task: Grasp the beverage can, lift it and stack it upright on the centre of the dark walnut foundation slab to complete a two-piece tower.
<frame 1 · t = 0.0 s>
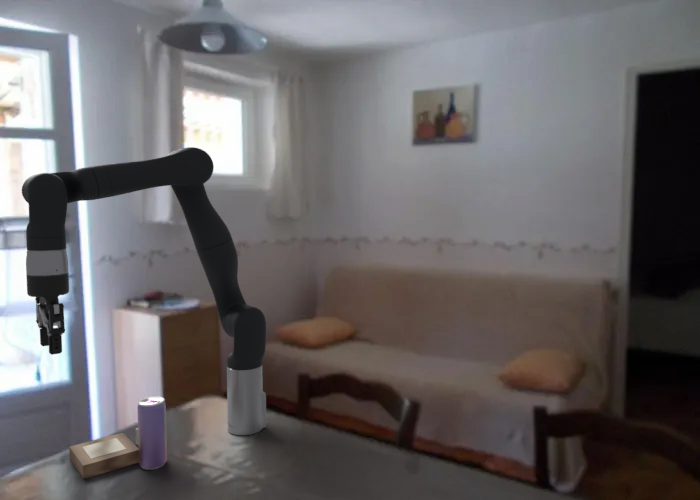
hand: (51, 349, 110), 29 cm above the table, fingers open, 8 cm apart
walnut slab: (104, 460, 123), on the table
beverage can: (153, 465, 122), on the table
sage cube: (147, 443, 133), on the table
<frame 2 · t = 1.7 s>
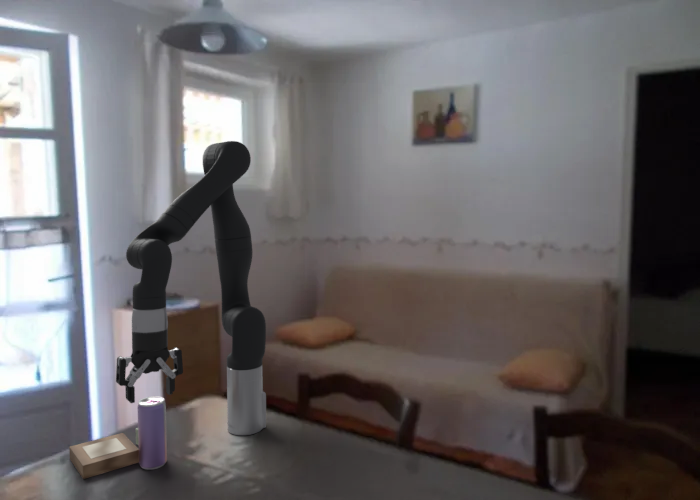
hand: (150, 397, 120), 16 cm above the table, fingers open, 8 cm apart
nothing on the table moved.
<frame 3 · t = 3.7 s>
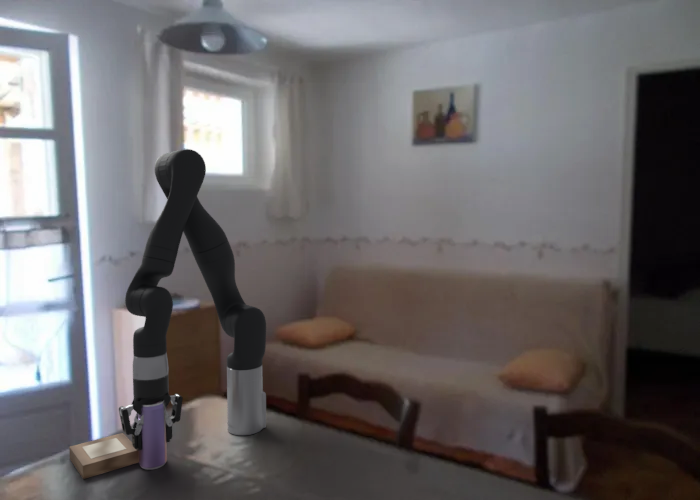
hand: (152, 445, 121), 5 cm above the table, fingers closed on beverage can, 6 cm apart
beverage can: (153, 465, 122), on the table, touching gripper
everything else where it was.
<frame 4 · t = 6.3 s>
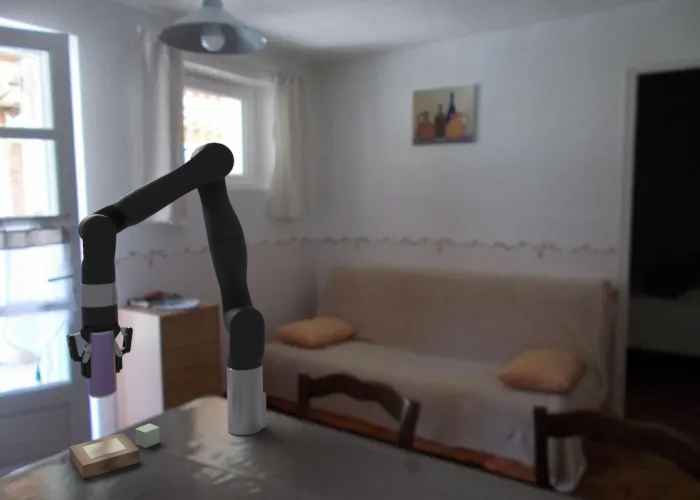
hand: (102, 374, 122), 20 cm above the table, fingers closed on beverage can, 6 cm apart
beverage can: (102, 395, 122), point 16 cm above the table, touching gripper
everything else where it was.
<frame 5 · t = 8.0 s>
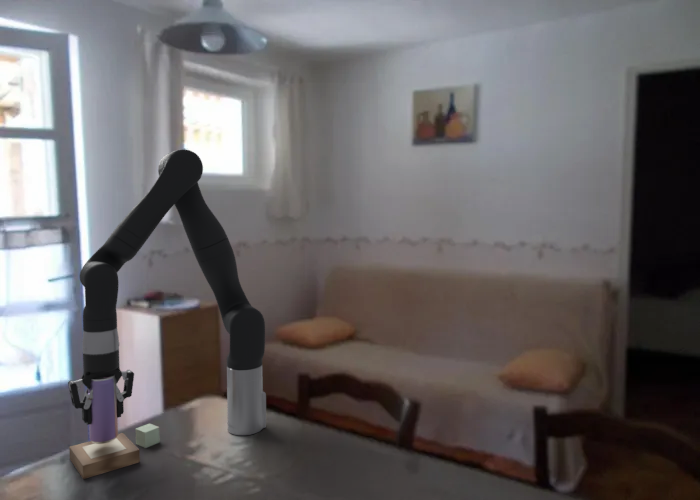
hand: (103, 419, 122), 10 cm above the table, fingers closed on beverage can, 6 cm apart
beverage can: (104, 439, 123), point 5 cm above the table, touching gripper
everything else where it was.
when the fingers open (9 cm above the table, at t = 9.2 s): beverage can drops 1 cm, resting on walnut slab.
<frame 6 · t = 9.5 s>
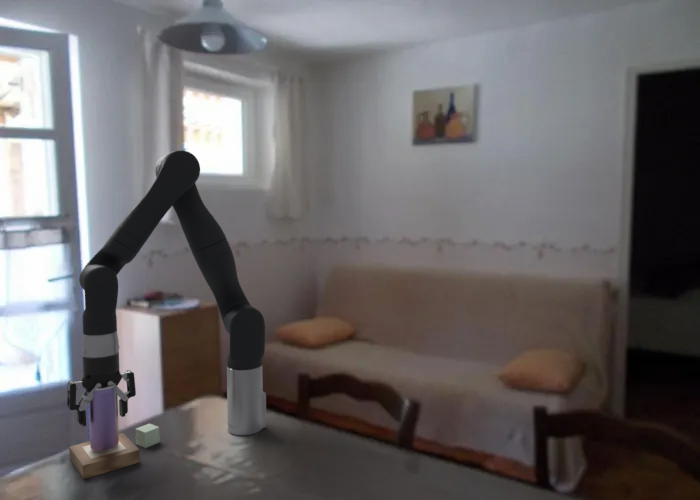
hand: (103, 420, 122), 10 cm above the table, fingers open, 8 cm apart
beverage can: (104, 448, 123), point 3 cm above the table, touching walnut slab
everything else where it was.
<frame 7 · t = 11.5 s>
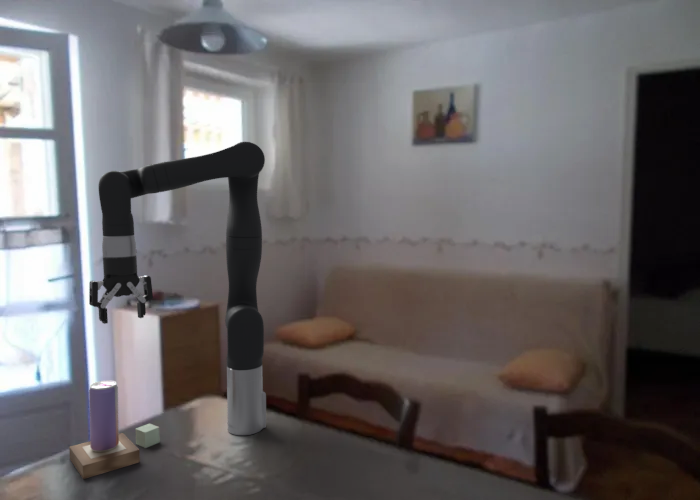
hand: (123, 320, 130), 31 cm above the table, fingers open, 8 cm apart
nothing on the table moved.
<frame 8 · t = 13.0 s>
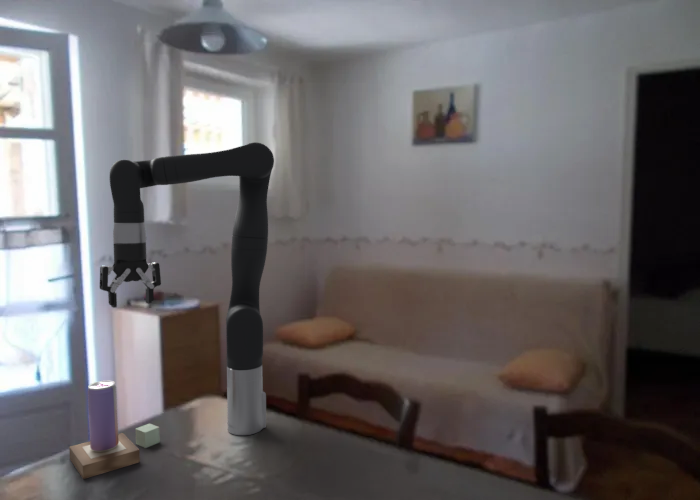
hand: (131, 305, 134), 34 cm above the table, fingers open, 8 cm apart
nothing on the table moved.
at the end: beverage can inside the target area on the walnut slab (0.2 cm from its centre), point 2.9 cm above the walnut slab's base; beverage can tilted 1°; the gripper is holding nothing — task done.
